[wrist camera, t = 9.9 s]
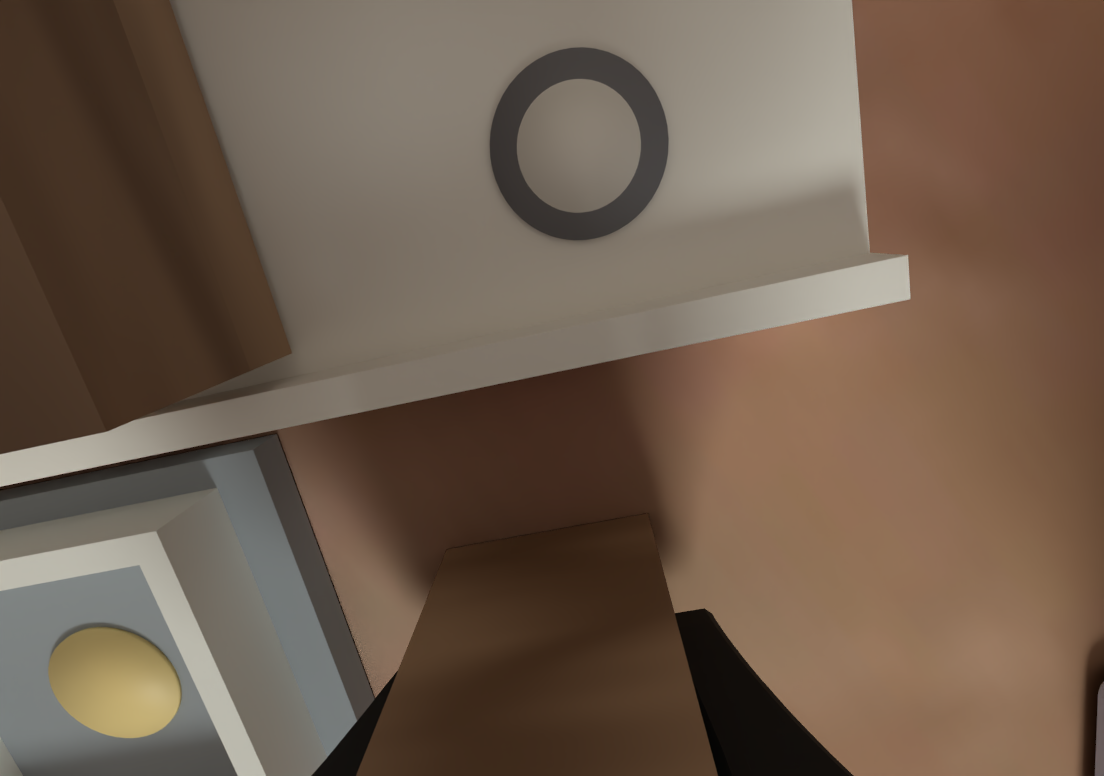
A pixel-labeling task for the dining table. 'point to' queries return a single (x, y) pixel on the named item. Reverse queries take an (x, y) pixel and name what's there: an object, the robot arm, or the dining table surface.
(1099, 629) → the dining table surface
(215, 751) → the socket board
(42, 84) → the cover
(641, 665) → the walnut pin
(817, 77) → the board
